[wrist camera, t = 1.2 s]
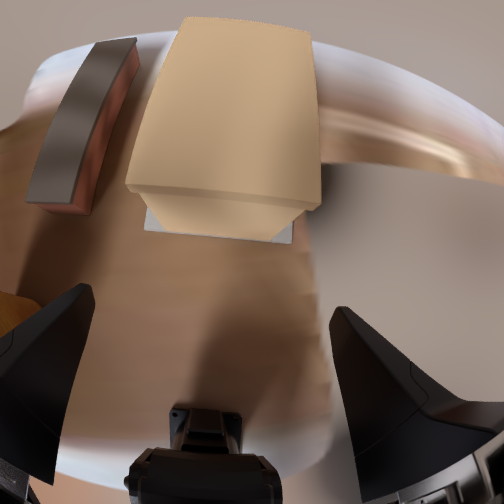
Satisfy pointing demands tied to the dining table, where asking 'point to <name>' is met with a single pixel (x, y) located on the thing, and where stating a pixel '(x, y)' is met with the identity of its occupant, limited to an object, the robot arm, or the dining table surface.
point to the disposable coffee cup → (15, 311)
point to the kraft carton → (231, 131)
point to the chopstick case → (83, 129)
